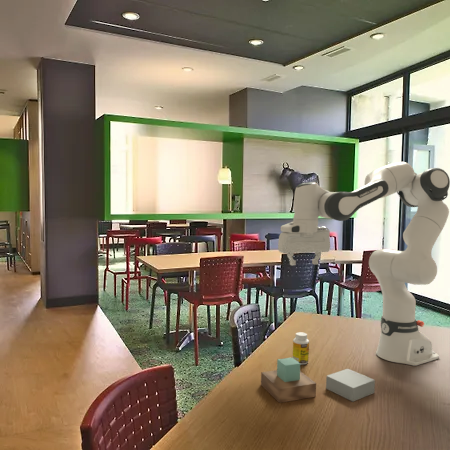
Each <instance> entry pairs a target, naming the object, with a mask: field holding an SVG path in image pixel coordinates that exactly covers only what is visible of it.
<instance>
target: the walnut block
mask: <svg viewBox="0 0 450 450" xmlns="http://www.w3.org/2000/svg"><path fill="white" fill-rule="evenodd" d="M260 386H262V388H263V389H264V390H266V391H267V393H268V394H270V396H272V398H273V399H275V401H277V403H280V404H281V403H286V402H287V403H288V402H292V401H293V402H294V401H298V400H303V399H309V398H315V397H317V383H316V381H313V379H311V378H310V377H309V376H307V375H306V374H304V372H302V371H301V370H300V380H296V381H289V382H284V381H283V380H282V379H281V378H279V377H278V376H277V369H275V370H270V371H263V372H262V371H261V374H260Z"/></svg>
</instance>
